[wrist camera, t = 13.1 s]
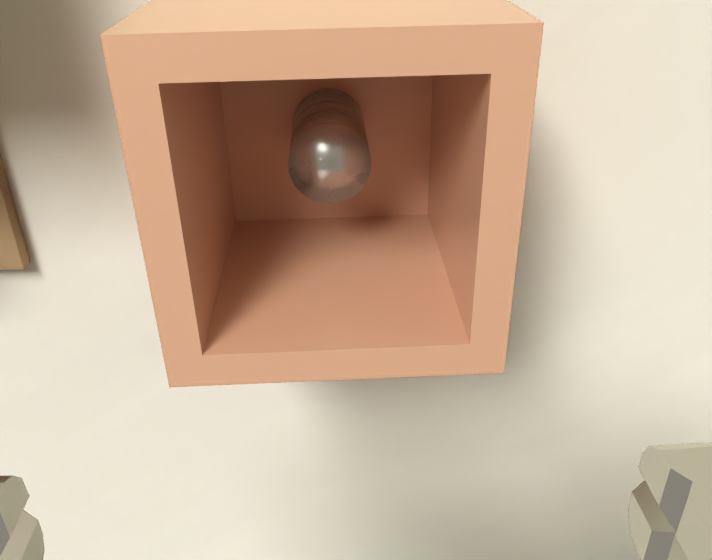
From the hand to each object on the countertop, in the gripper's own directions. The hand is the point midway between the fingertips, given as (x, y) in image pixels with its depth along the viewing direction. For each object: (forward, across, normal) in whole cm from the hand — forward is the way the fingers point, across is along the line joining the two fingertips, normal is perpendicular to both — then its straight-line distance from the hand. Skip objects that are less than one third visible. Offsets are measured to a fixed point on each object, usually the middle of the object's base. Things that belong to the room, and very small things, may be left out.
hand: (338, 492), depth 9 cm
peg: (+16, 0, 0) cm, 16 cm away
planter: (+17, 0, 0) cm, 17 cm away
